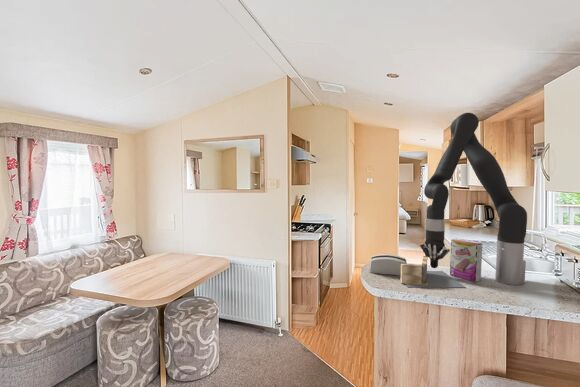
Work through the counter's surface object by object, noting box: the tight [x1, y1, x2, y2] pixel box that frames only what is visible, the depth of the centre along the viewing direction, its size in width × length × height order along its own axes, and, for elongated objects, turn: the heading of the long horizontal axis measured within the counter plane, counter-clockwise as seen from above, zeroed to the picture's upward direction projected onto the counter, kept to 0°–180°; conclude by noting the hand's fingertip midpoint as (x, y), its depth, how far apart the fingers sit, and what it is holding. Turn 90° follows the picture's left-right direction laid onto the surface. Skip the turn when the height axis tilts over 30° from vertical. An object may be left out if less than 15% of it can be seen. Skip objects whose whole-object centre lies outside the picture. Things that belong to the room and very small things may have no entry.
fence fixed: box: [400, 263, 428, 284], centre depth 127 cm, size 10×2×8 cm, turn 88°
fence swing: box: [421, 255, 429, 266], centre depth 134 cm, size 13×2×8 cm, turn 154°
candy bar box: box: [449, 237, 483, 283], centre depth 134 cm, size 11×5×16 cm, turn 34°
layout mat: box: [396, 270, 467, 289], centre depth 133 cm, size 23×20×1 cm
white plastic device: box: [369, 253, 408, 276], centre depth 139 cm, size 17×5×10 cm, turn 69°
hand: (434, 267), depth 136 cm, fingers closed
